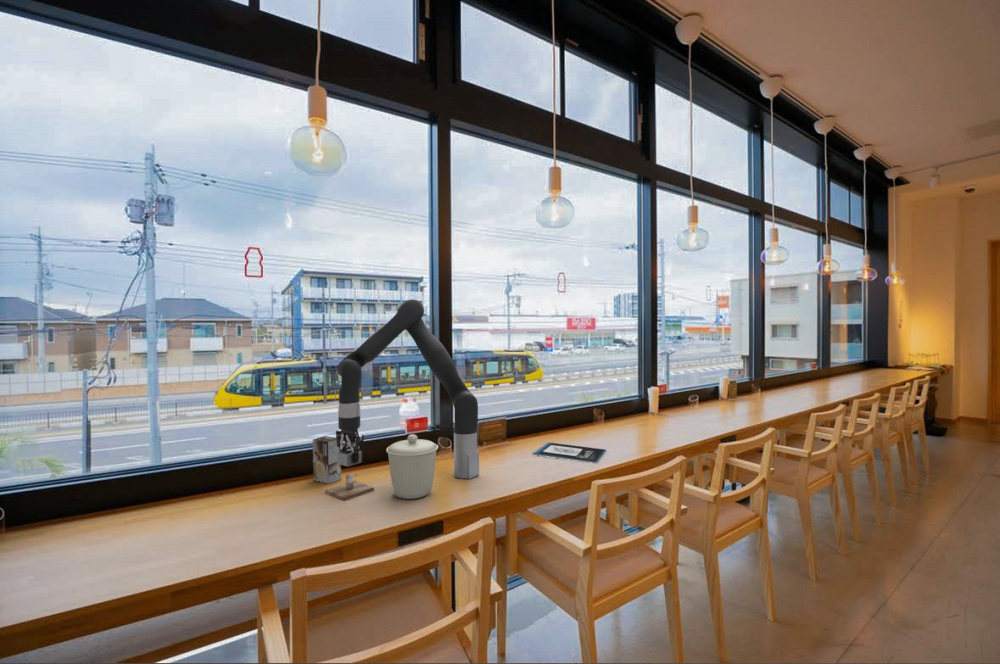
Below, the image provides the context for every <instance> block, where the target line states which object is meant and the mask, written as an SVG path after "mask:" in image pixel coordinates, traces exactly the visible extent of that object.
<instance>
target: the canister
mask: <svg viewBox="0 0 1000 664" xmlns="http://www.w3.org/2000/svg"><path fill="white" fill-rule="evenodd" d="M438 449H439V445H438V444H437V443H435V442H433V441H431V440H429V439H419V438H418V436H417V435H416V434H408V436H407V439H404V440H399V441H396V442H394V443H391V444H390V445H389V446H388V447H386V449H385V450H386V453H387V454H388V464H389V472H390V479H391V480H390V481H391V487H392V491H393V493H394V495H395V496H396V497H398V498H399V499H403V500H404V499H406V500H414V499H420V498H423V497H425V496H428V495H429V494H430V493H431V490H432V489H433V484H434V477H435V469H436V468H435V467H436V460H437V459H436V457H437V451H438Z"/></svg>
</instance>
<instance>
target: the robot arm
mask: <svg viewBox="0 0 1000 664" xmlns="http://www.w3.org/2000/svg"><path fill="white" fill-rule="evenodd" d="M424 314H425V308H424V305H423V304H422V302H421V301H419V300H417V299H413V298H412V299H408V300H405V301H404V302H402V304H400V305H399V306H398V309H397V311H396V313H395V315H394V316H393V317H392V318H391V319H389V321H388V322H386V323H385V324H384V325H383V326H382V327H380V328H379V329H378V330H376V331H375V333H373V334H371V336H369V337H368V338H367V339H366V340H365V341H364V342H363V343H362V344H360V345H359V346H358V347H357V349H355V350H354V351H352V352H351V353H350V354H348V355H347V356H345V357H344V358H343V359H342V360H341V361H340V362H339V363H338V365H337V368H336V371H337V374H338V375H339V376H340V377H341V384H340V385H341V386H340V388H339V392H338V410H337V411H338V412H337V413H338V416H337V418H338V419H337V421H338V425H337V426H338V430H336V431H335V438H336V441H337V447H340V450H341V451H345V450H349V449H351V451H352V463H353V464H354V463H358V460H359V454H358V453H359V452H360V451H362V452H363V450H364V441H365V440H364V437H365V436H364V434H363V433H362V434H359V428H361V405H360V404H361V402H360V401H361V400H360V388H361V382H362V368H363V367H364V366H365V365H367V364H370V363H371V362H373V361H374V360H376V358H378V356H379V355H380V354H381V353H383V351H384V350H386V349H387V347H388V346H389V345H390V344H391V343H392V342H393V341H394V340H396V338H397V337H398V336H399V335H401V334H403V332H404V331H405V330H406V331H407V333H408V334H409V336H411V338H412V339H413V341H414V343H415V345H416V347H417V349H418V351H419V352H420V353H421V356H422V357H423V360H424V362H426V364H427V366H428V367H429V370H431V372H432V374H433V375H434V376H435V377H436V379H437V380H438V381H439V382H440V383H441V385H442V386H443V387H444V388H445V390H446V393H447V394H448V396H449V398H450V401H451V402H452V405H453V407H454V408H453V409H454V425H453V472H454V473H453V476H454V477H455V478H458V479H467V480H470V479H472V478H475V477H477V476H480V451H479V450H478V425H479V404H478V399H477V398H476V396H475V395H474V394H473V393H472V392H471V391H470V390H469V389H468V387H467V386H466V384H465V383H464V382H463V380H462V379H461V376H460V374H459V373H458V370H457V368H456V365H455V363H454V361H453V359H452V357H451V355H450V354H449V352H448V351H447V349H446V348H445V345H444V344H443V343H442V342H441V341H440V340H439V339H438V338H437V337H436V336H435V335H434V334H432V332H431V331H430V330H429V329H428V327H427V325H426V324H425V321H424V320H423V317H424ZM340 440H341V441H340ZM348 448H349V449H348ZM358 464H359V463H358Z"/></svg>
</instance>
